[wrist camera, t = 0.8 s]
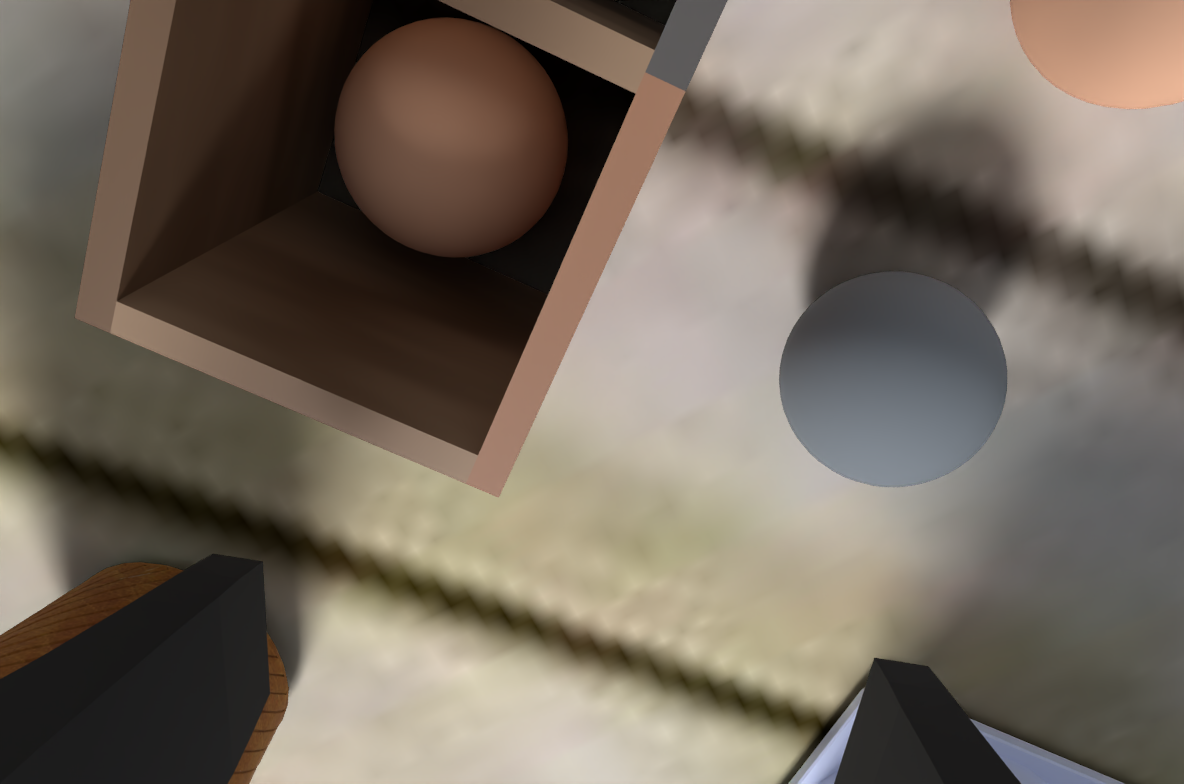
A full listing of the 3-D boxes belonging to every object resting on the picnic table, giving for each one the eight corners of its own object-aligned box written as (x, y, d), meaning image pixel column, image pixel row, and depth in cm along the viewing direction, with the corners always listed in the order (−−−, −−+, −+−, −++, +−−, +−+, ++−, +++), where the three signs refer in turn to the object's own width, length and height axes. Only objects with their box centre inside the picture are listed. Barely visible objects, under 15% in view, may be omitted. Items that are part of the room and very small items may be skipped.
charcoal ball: (1010, 296, 17) (1095, 376, 14) (901, 454, 19) (951, 562, 16) (832, 213, 17) (870, 272, 14) (736, 380, 19) (748, 474, 15)
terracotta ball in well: (613, 70, 16) (592, 93, 13) (533, 258, 18) (495, 324, 14) (415, -24, 16) (335, -27, 12) (353, 176, 18) (268, 224, 14)
